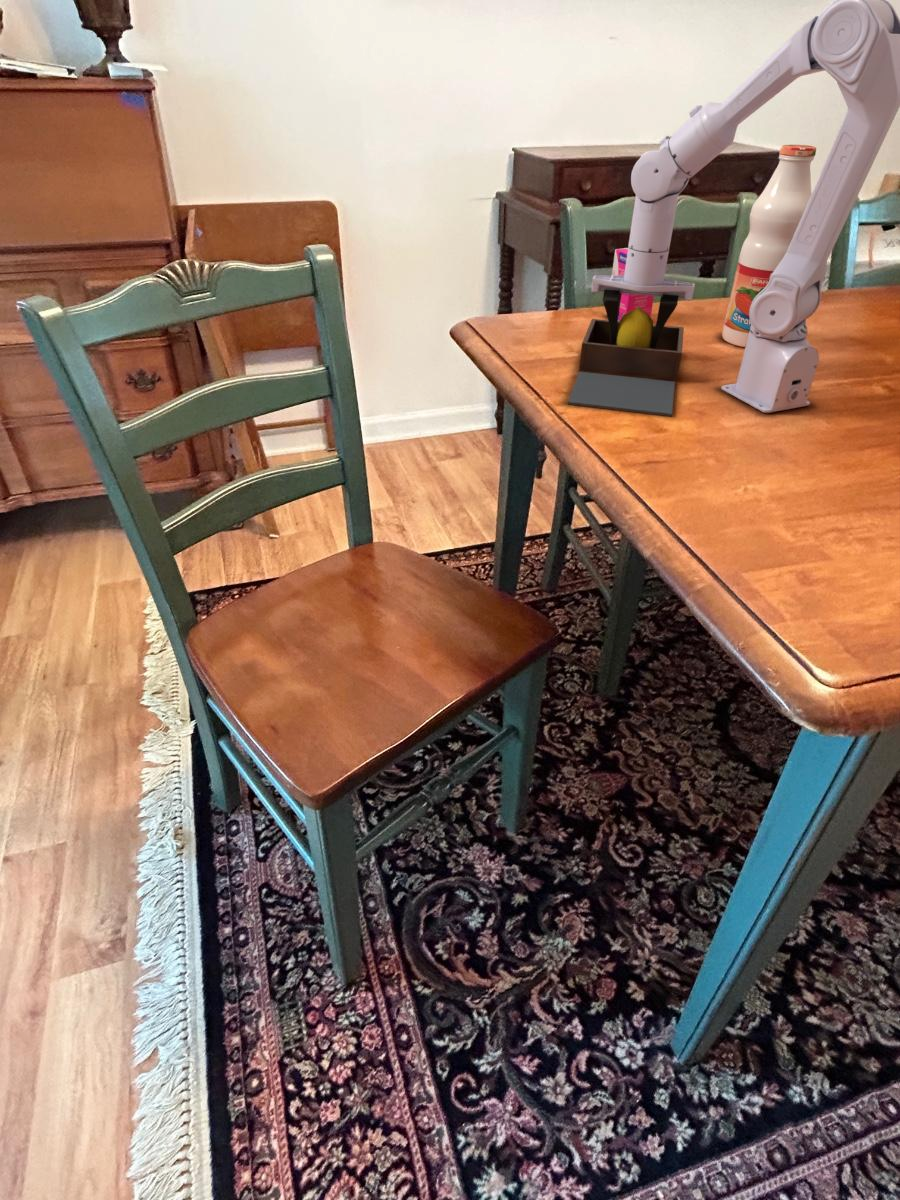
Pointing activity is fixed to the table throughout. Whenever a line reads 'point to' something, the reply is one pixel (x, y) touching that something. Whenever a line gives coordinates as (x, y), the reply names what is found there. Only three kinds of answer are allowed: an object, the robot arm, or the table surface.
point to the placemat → (623, 393)
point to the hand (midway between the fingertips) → (633, 344)
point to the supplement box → (629, 300)
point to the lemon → (635, 329)
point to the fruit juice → (768, 235)
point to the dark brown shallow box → (631, 354)
